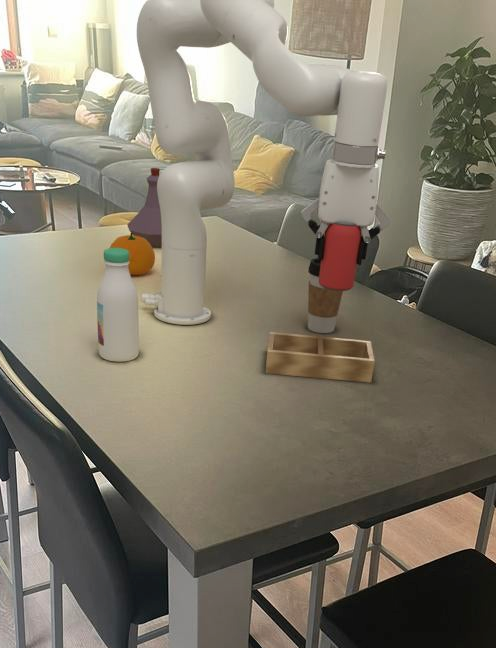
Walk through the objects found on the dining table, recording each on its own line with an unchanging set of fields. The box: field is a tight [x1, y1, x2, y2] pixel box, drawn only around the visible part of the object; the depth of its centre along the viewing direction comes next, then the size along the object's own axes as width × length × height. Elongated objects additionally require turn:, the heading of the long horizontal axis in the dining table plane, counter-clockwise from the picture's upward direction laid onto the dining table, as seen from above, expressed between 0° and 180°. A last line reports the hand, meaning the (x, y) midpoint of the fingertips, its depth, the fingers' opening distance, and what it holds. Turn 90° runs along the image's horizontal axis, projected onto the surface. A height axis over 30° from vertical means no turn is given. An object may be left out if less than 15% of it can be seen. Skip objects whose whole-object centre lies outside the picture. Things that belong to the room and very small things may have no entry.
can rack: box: [265, 331, 376, 384], centre depth 152 cm, size 20×11×4 cm, turn 87°
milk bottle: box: [96, 247, 140, 363], centre depth 145 cm, size 8×8×20 cm
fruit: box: [109, 232, 156, 276], centre depth 195 cm, size 12×12×10 cm
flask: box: [127, 167, 162, 248], centre depth 218 cm, size 16×16×20 cm
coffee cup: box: [307, 257, 344, 334], centre depth 168 cm, size 8×8×15 cm
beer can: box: [319, 222, 362, 292], centre depth 141 cm, size 7×7×12 cm
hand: (339, 260), depth 142 cm, fingers closed on beer can, 6 cm apart
